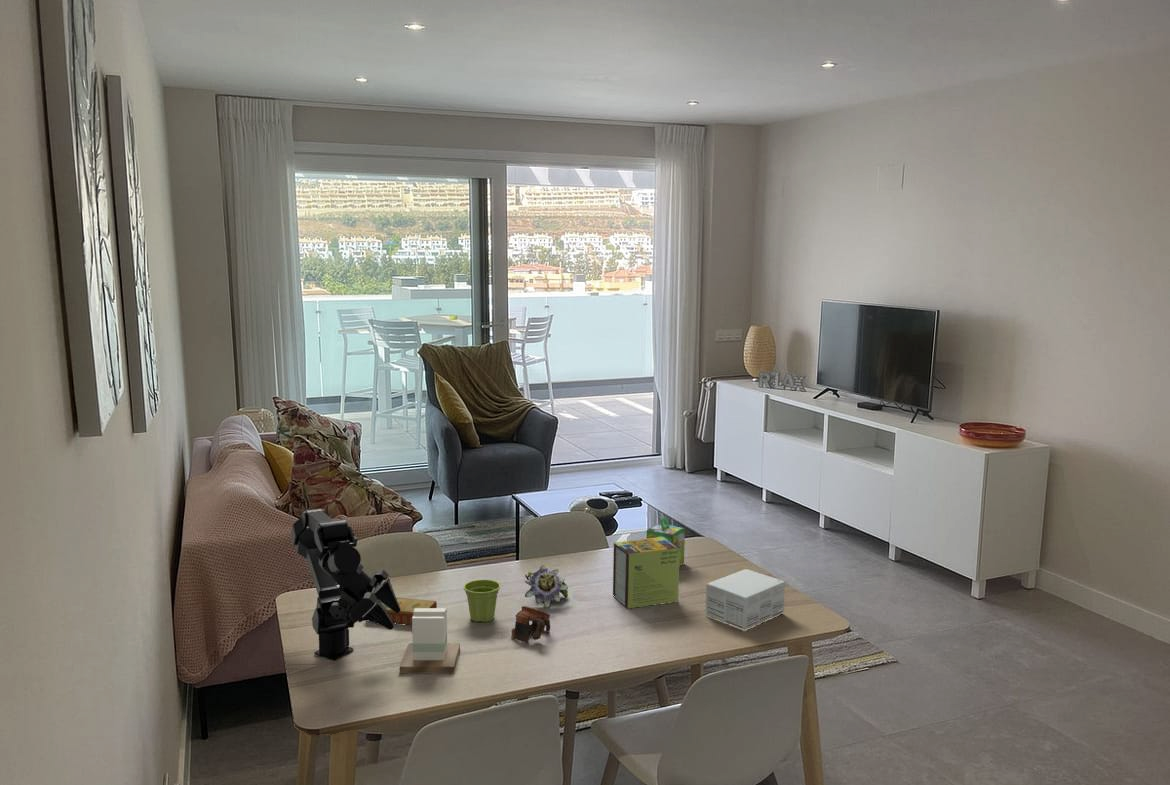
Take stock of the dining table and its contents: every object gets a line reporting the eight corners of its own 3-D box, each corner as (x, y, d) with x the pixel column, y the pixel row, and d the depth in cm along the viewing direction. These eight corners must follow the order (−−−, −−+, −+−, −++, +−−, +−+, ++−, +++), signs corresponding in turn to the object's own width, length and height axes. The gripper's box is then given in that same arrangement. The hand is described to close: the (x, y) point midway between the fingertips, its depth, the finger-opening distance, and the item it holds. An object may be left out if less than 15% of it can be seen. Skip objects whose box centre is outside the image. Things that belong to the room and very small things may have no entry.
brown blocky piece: (502, 635, 213) (512, 602, 216) (534, 646, 217) (544, 613, 220) (523, 641, 203) (534, 607, 206) (557, 652, 207) (567, 618, 210)
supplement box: (744, 600, 237) (745, 567, 236) (784, 615, 227) (786, 581, 226) (704, 616, 226) (705, 582, 224) (744, 632, 216) (746, 597, 215)
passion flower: (546, 625, 232) (524, 597, 226) (533, 604, 241) (511, 576, 235) (580, 599, 233) (559, 571, 227) (565, 579, 243) (545, 551, 237)
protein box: (679, 602, 235) (680, 547, 233) (627, 609, 229) (628, 553, 227) (661, 589, 244) (663, 536, 242) (611, 595, 239) (612, 541, 237)
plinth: (399, 673, 192) (399, 666, 192) (409, 649, 204) (408, 643, 204) (453, 673, 192) (453, 666, 192) (460, 649, 204) (459, 643, 204)
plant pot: (456, 617, 223) (456, 585, 221) (485, 607, 229) (485, 576, 228) (478, 628, 216) (478, 595, 215) (507, 618, 223) (507, 586, 221)
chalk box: (672, 572, 258) (673, 524, 256) (644, 566, 262) (646, 519, 260) (685, 563, 266) (686, 516, 263) (658, 558, 270) (659, 512, 268)
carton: (424, 629, 216) (424, 612, 216) (365, 622, 220) (364, 606, 219) (437, 615, 224) (436, 600, 224) (380, 609, 228) (379, 594, 227)
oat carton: (412, 660, 195) (411, 614, 193) (416, 649, 200) (415, 605, 199) (444, 660, 195) (443, 614, 194) (447, 649, 201) (446, 605, 199)
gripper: (330, 581, 204) (378, 626, 206) (310, 613, 185) (362, 662, 188) (364, 550, 203) (411, 595, 205) (346, 578, 185) (399, 627, 187)
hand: (396, 619), depth 196 cm, fingers open, 9 cm apart
